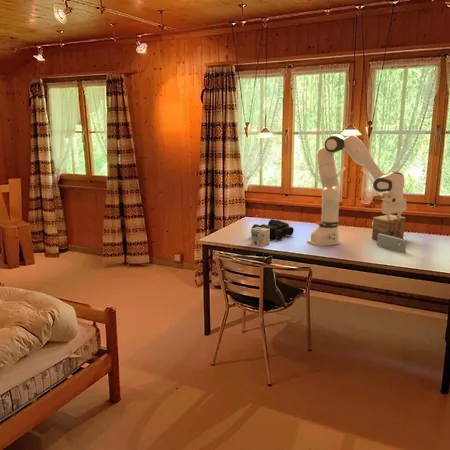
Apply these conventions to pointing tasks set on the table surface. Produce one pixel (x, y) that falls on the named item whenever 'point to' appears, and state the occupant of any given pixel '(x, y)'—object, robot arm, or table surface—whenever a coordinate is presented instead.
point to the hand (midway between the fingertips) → (393, 219)
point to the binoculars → (276, 229)
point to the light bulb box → (260, 236)
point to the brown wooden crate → (388, 226)
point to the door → (391, 242)
